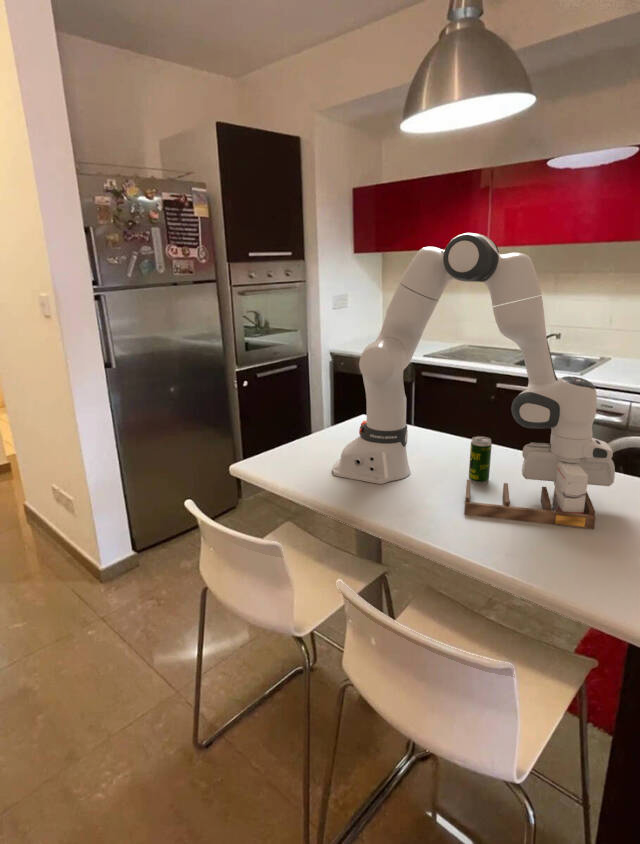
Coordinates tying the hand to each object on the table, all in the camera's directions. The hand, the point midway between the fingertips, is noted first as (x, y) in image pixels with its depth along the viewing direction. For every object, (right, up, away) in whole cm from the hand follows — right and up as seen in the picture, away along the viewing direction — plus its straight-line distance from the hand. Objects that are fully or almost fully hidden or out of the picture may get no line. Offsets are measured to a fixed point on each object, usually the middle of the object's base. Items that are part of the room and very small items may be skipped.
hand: (563, 497), depth 126 cm
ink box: (-1, -3, -4) cm, 6 cm away
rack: (-10, -3, -2) cm, 11 cm away
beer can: (-16, +2, +15) cm, 22 cm away
